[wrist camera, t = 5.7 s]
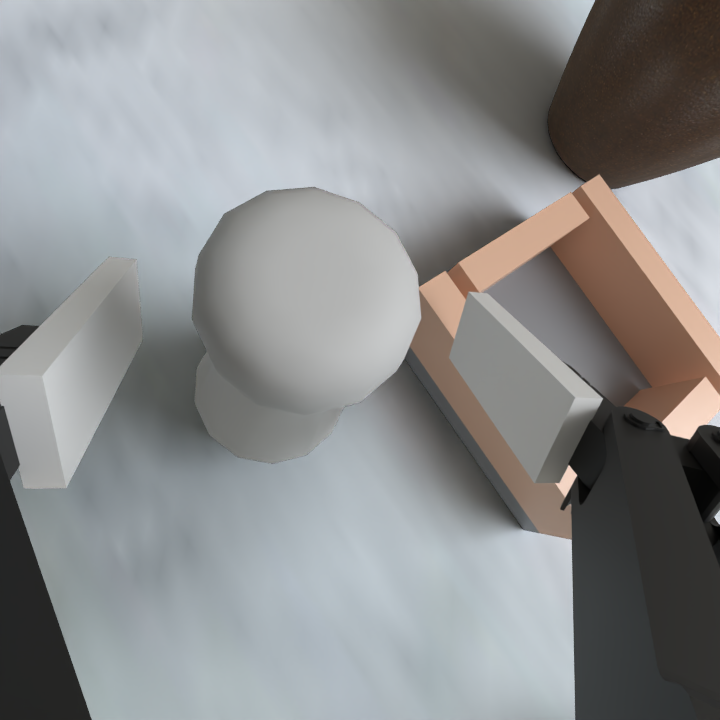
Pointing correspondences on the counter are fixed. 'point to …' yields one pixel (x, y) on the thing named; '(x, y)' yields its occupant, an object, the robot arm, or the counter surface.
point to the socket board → (573, 333)
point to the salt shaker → (297, 319)
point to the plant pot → (640, 91)
